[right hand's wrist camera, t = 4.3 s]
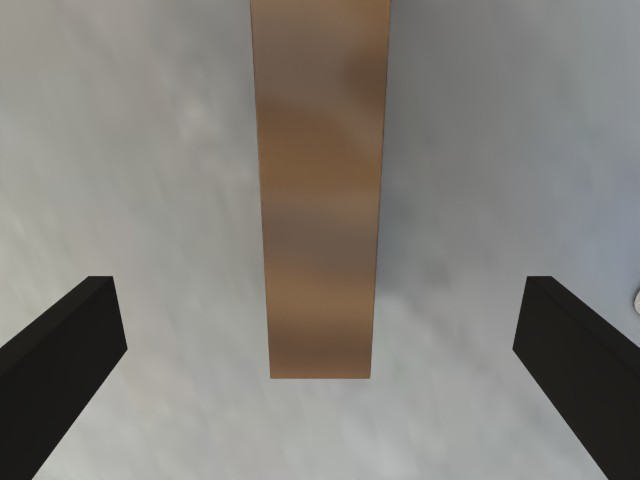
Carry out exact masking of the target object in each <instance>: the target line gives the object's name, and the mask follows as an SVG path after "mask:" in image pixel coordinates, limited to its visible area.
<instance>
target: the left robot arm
mask: <svg viewBox="0 0 640 480" xmlns="http://www.w3.org/2000/svg"><path fill="white" fill-rule="evenodd" d="M634 306H635V309H636V311H637V312H638V313H639V315H640V291H639V293H638V294H637V296H636V299H635V302H634Z"/></svg>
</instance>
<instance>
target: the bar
mask: <svg viewBox="0 0 640 480" xmlns="http://www.w3.org/2000/svg"><path fill="white" fill-rule="evenodd" d="M250 8H251V27H252V45H253V64H254V83H255V101H256V120H257V138H258V157H259V176H260V194H261V213H262V232H263V250H264V269H265V287H266V306H267V325H268V343H269V362H270V378H271V379H369V378H370V372H371V354H372V336H373V318H374V299H375V281H376V263H377V245H378V226H379V208H380V190H381V172H382V154H383V135H384V117H385V99H386V81H387V62H388V44H389V26H390V8H391V0H250Z"/></svg>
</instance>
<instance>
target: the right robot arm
mask: <svg viewBox="0 0 640 480" xmlns="http://www.w3.org/2000/svg"><path fill="white" fill-rule="evenodd" d="M126 351H127V344H126V339H125V334H124V329H123V324H122V319H121V314H120V309H119V304H118V299H117V295H116V290H115V285H114V280H113V276H88V277H87V278H86V279H85V280H83V281H82V282H81V283H80V284H78V285H77V286H76V287H75V288H74V289H72V290H71V291H70V292H69V293H67V294H66V295H65V296H64V297H62V298H61V299H60V300H59V301H58V302H56V303H55V304H54V305H53V306H51V307H50V308H49V309H48V310H46V311H45V312H44V313H43V314H42V315H40V316H39V317H38V318H37V319H35V320H34V321H33V322H32V323H31V324H29V325H28V326H27V327H26V328H24V329H23V330H22V331H21V332H19V333H18V334H17V335H16V336H15V337H13V338H12V339H11V340H10V341H8V342H7V343H6V344H5V345H3V346H2V347H1V348H0V480H32V478H33V477H34V476H35V474H36V473H37V472H38V470H39V469H40V467H41V466H42V465H43V463H44V462H45V461H46V459H47V458H48V457H49V455H50V454H51V453H52V451H53V450H54V448H55V447H56V446H57V444H58V443H59V442H60V440H61V439H62V438H63V436H64V435H65V434H66V432H67V431H68V429H69V428H70V427H71V425H72V424H73V423H74V421H75V420H76V419H77V417H78V416H79V415H80V413H81V412H82V410H83V409H84V408H85V406H86V405H87V404H88V402H89V401H90V400H91V398H92V397H93V396H94V394H95V393H96V391H97V390H98V389H99V387H100V386H101V385H102V383H103V382H104V381H105V379H106V378H107V377H108V375H109V374H110V372H111V371H112V370H113V368H114V367H115V366H116V364H117V363H118V362H119V360H120V359H121V358H122V356H123V355H124V353H125V352H126ZM513 351H514V352H515V353H516V355H517V356H518V358H519V359H520V360H521V362H522V363H523V364H524V366H525V367H526V368H527V370H528V371H529V372H530V374H531V375H532V377H533V378H534V379H535V381H536V382H537V383H538V385H539V386H540V387H541V389H542V390H543V391H544V393H545V394H546V396H547V397H548V398H549V400H550V401H551V402H552V404H553V405H554V406H555V408H556V409H557V410H558V412H559V413H560V415H561V416H562V417H563V419H564V420H565V421H566V423H567V424H568V425H569V427H570V428H571V429H572V431H573V432H574V434H575V435H576V436H577V438H578V439H579V440H580V442H581V443H582V444H583V446H584V447H585V448H586V450H587V451H588V453H589V454H590V455H591V457H592V458H593V459H594V461H595V462H596V463H597V465H598V466H599V467H600V469H601V470H602V472H603V473H604V474H605V476H606V477H607V478H608V480H640V348H639V347H638V346H637V345H635V344H634V343H633V342H632V341H630V340H629V339H628V338H627V337H625V336H624V335H623V334H622V333H621V332H619V331H618V330H617V329H616V328H614V327H613V326H612V325H611V324H609V323H608V322H607V321H606V320H605V319H603V318H602V317H601V316H600V315H598V314H597V313H596V312H595V311H594V310H592V309H591V308H590V307H589V306H587V305H586V304H585V303H584V302H582V301H581V300H580V299H579V298H578V297H576V296H575V295H574V294H573V293H571V292H570V291H569V290H568V289H566V288H565V287H564V286H563V285H562V284H560V283H559V282H558V281H557V280H555V279H554V278H553V277H552V276H527V280H526V285H525V290H524V295H523V299H522V304H521V309H520V314H519V319H518V324H517V329H516V334H515V339H514V344H513Z"/></svg>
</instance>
